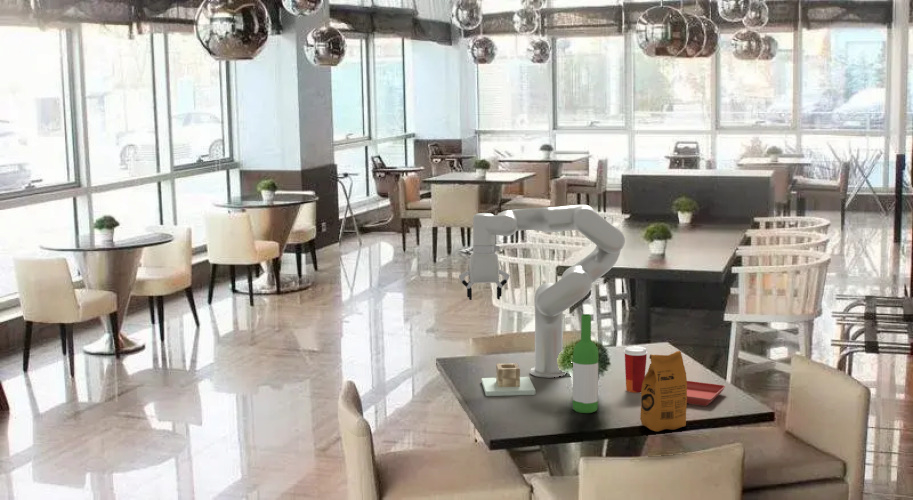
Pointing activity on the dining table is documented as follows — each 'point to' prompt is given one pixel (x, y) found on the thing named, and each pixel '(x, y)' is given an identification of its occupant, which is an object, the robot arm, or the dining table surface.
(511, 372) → the maple collar
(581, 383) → the wine bottle
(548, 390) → the dining table surface
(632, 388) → the paper cup
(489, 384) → the post board
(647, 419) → the coffee package
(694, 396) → the plant saucer
